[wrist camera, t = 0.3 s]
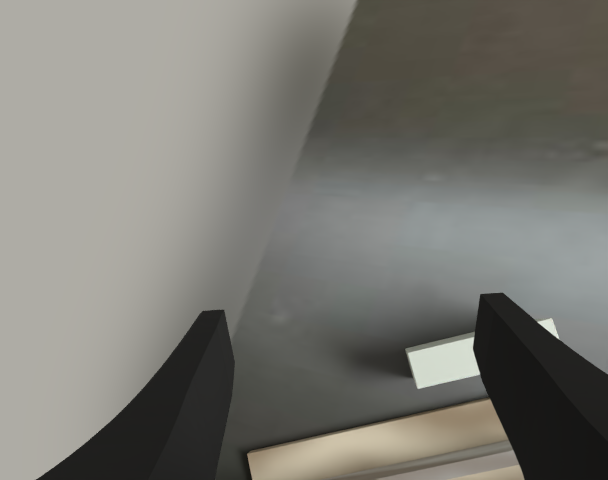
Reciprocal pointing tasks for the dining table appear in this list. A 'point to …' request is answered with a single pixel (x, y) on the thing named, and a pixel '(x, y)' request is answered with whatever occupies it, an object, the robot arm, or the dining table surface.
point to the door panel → (450, 358)
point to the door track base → (400, 450)
